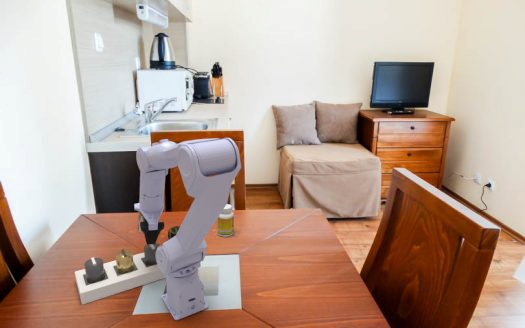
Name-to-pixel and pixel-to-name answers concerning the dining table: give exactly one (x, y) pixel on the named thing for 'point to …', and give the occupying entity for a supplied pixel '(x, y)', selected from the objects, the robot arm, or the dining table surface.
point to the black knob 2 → (150, 254)
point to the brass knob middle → (124, 261)
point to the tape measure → (173, 231)
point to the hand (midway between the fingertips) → (150, 233)
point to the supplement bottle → (225, 222)
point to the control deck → (117, 279)
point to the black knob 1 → (94, 270)
